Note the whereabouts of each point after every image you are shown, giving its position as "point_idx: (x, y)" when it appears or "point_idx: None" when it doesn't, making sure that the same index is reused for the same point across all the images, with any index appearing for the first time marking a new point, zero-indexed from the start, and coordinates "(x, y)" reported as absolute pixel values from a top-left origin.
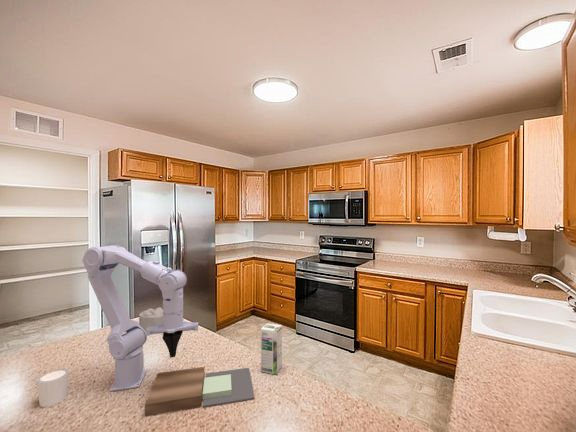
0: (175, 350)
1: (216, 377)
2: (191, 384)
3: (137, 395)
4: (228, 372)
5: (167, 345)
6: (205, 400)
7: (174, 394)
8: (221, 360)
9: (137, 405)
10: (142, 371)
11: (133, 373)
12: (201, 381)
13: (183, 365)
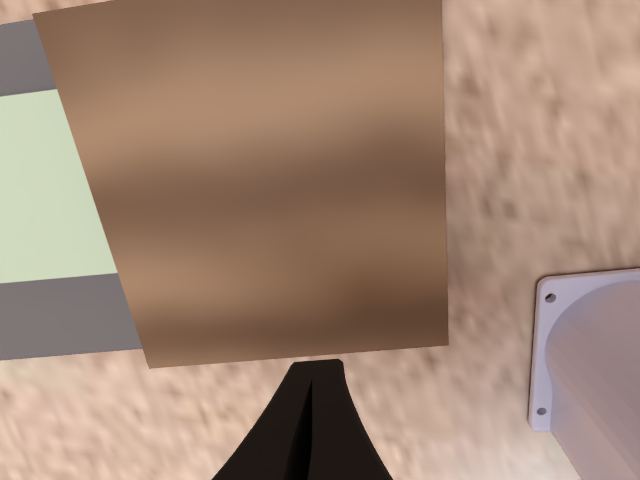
0: (264, 410)
1: (47, 264)
2: (162, 175)
3: (524, 203)
4: (33, 337)
5: (375, 477)
6: None
7: (245, 60)
8: (127, 457)
9: (498, 100)
10: (553, 412)
11: (626, 339)
12: (103, 201)
13: None
